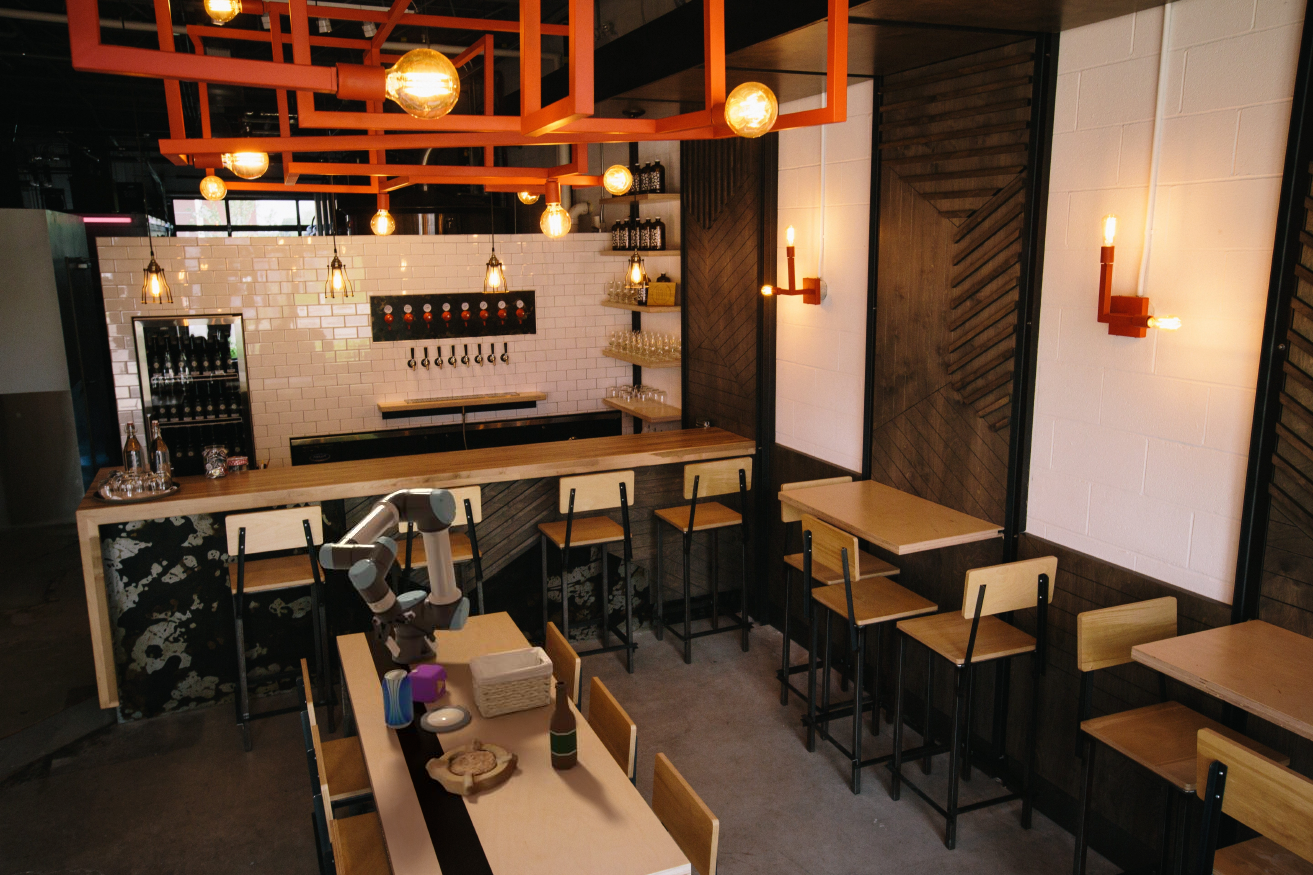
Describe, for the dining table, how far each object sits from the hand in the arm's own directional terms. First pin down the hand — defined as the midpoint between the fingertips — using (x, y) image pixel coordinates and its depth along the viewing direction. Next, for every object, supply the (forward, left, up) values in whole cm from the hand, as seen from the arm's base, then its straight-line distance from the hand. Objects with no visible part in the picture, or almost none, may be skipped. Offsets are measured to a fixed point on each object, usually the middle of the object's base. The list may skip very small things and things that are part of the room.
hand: (417, 650), depth 268 cm
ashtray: (+35, +20, -22) cm, 46 cm away
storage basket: (-4, +28, -22) cm, 36 cm away
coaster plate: (+5, +8, -21) cm, 23 cm away
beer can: (+5, -6, -21) cm, 23 cm away
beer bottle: (+34, +45, -21) cm, 60 cm away
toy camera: (-13, 0, -21) cm, 25 cm away
